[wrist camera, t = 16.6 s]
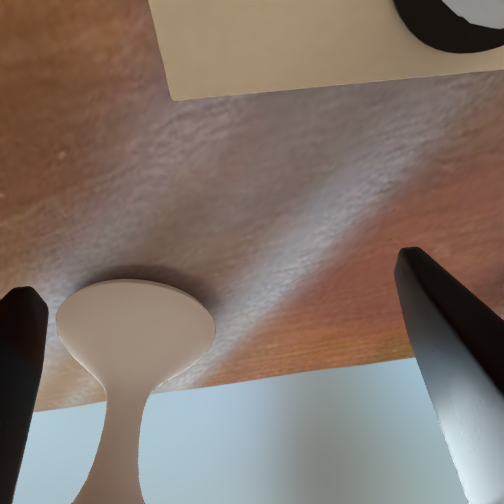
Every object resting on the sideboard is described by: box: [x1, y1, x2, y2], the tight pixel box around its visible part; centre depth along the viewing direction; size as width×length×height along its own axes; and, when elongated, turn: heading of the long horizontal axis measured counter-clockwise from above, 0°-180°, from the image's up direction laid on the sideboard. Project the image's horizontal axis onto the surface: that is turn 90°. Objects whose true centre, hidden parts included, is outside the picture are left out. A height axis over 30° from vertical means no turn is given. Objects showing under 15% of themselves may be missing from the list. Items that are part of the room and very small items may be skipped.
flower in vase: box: [56, 279, 216, 504], centre depth 24 cm, size 13×11×25 cm
